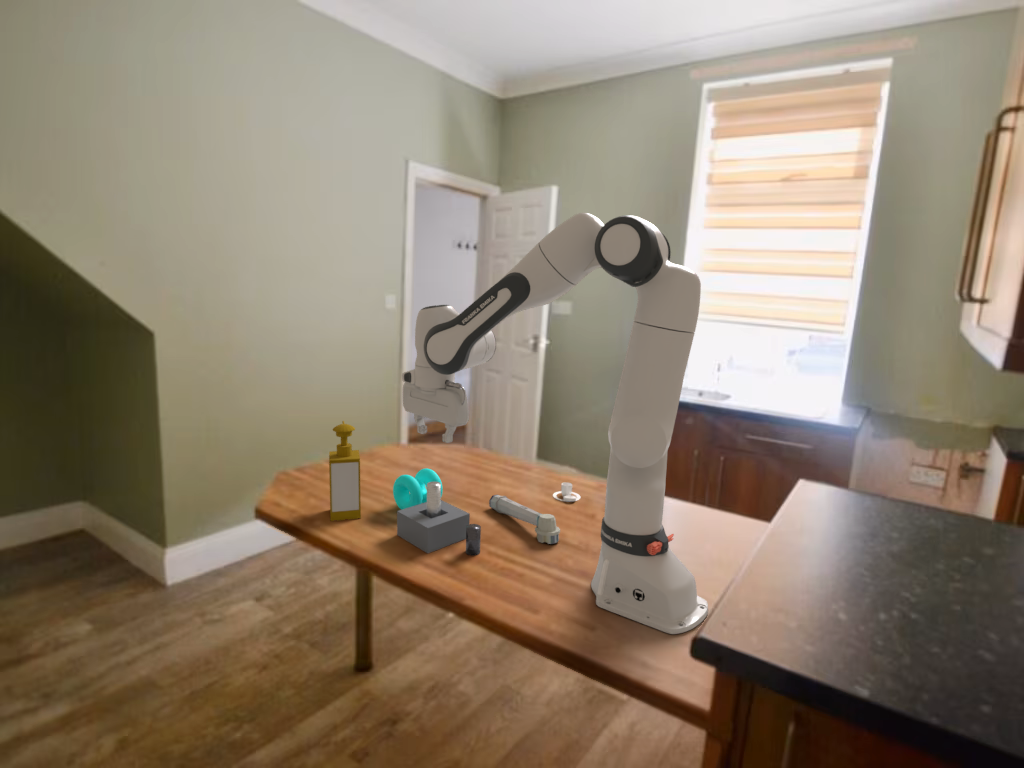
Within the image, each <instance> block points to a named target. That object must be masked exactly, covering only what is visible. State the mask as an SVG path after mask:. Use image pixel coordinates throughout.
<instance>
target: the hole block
mask: <svg viewBox="0 0 1024 768" xmlns="http://www.w3.org/2000/svg"><path fill="white" fill-rule="evenodd" d="M470 516H471V515H470V513H469V512H467V511H465V510H463V509H461V508H459V507H457V506H454V505H452V504H451V503H448V502H447V501H444V500H443V499H441V512H440V516H438V517H435V518H432V519H431V518H429V517H427V502H425V503H422V504H419V505H415V506H412V507H409V508H405V509H402V510H401V509H399V510H397V511H396V523H397V524H396V535H397V536H398V537H399V538H402V539H403V540H405V541H406V542H408V543H410V544H412V545H413V546H415V547H416V548H418V549H419V550H421V551H423V552H425V553H426V554H430V553H432V552H435V551H437V550H440V549H443V548H445V547H449V546H451V545H454V544H456V543H459V542H461V541H463V540H466V526H467V525H469V524H470V520H471V518H470Z"/></svg>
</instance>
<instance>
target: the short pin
mask: <svg viewBox="0 0 1024 768" xmlns="http://www.w3.org/2000/svg"><path fill="white" fill-rule="evenodd" d="M481 527H482V526H481V525H480V524H477V523H469V525H467V526H466V539H465V554H466V555H468V556H473V557H474V556H478V555H480V553H481V537H482V535H481V531H482V529H481Z"/></svg>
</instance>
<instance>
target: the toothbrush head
mask: <svg viewBox="0 0 1024 768" xmlns="http://www.w3.org/2000/svg"><path fill="white" fill-rule="evenodd" d="M488 503H489V507H490V508H491V509H492V510H495V511H496V512H497V513H499V514H504V515H506V516H509V517H511V518H515V519H517V520H520V521H522V522H525V523H528V524H530V525H533V526H535V527H534V532H535V533H536V539H537V542H538V543H541V544H544V543H547V545H549V544H550V545H553V544H557V543H558V542H559V541H560V535H559V534H560V533H561V528H560V527H559V526H557V521H556V520H557V519H556V517H555V515H554V514H550V513H540V512H538V511H536V510H534V509H532V508H531V507H528V506H525V505H523V504H520V503H519V502H516V501H515V500H512V499H510V498H508V497H507V496H506V495H499V494H494V495H492V496H491V497H490V499H489V501H488Z"/></svg>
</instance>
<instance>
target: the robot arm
mask: <svg viewBox="0 0 1024 768" xmlns="http://www.w3.org/2000/svg"><path fill="white" fill-rule="evenodd" d="M671 253H672V252H671V245H670V243H669V240H668V238H667V237H666V236H665V235H664V234H663V233H662V232H661V231H660V229H659V228H658V227H657V226H655V224H653V223H652V222H649V221H648V220H646V219H644V218H641V217H640V216H636V215H630V214H629V215H628V214H626V215H620V216H616V217H614V218H612V219H610V220H609V221H607V222H606V223H605V224H604V223H603V222H602V221H601V219H600V218H598V217H597V216H595V215H593V214H591V213H588V212H578V213H576V214H574V215H572V216H570V217H568V219H566V220H564V221H563V222H561V223H560V224H559V225H558V226H556V227H555V228H553V230H551V231H550V232H549V233H547V234H546V235H545V236H544V237H543V238H542V239H541V240H540V241H539V242H538V243H537V244H536V245H534V246H533V248H532V249H531V250H530V251H528V253H527V254H525V255H524V257H522V258H521V260H520V261H518V262H517V263H516V265H514V266H513V267H512V269H510V270H509V271H508V272H507V273H506V274H505V275H504V276H503V277H501V279H500V280H499V281H497V282H496V283H494V284H493V286H492V287H489V289H487V291H485V292H484V293H483V294H481V295H480V296H479V297H478V298H476V300H474V301H473V302H472V303H471V304H469V306H468V307H466V308H465V309H464V310H463V311H461V313H460V312H458V311H457V310H456V309H455V308H454V307H453V306H452V305H450V304H438V305H431V306H430V305H429V306H428V305H427V306H425V307H422V308H421V309H420V310H419V311H418V313H417V315H416V321H415V329H414V331H415V332H414V346H415V349H416V350H415V351H416V358H415V362H414V368H413V369H411V370H407V371H404V372H403V373H402V375H401V380H402V381H403V384H402V406H403V408H404V411H405V412H408V413H411V414H413V419H414V421H415V424H416V427H417V433H419V434H421V435H425V434H427V433H428V425H426V423H425V419H424V418H426V419H429V420H433V421H436V422H439V423H443V424H444V428H445V429H446V430H445V432H444V433H443V434H442V435H441V436H442V437H441V438H442V439H441V440H442V442H443V443H446V444H449V443H450V444H451V443H452V442H453V435H454V433H455V431H456V430H457V428H458V427H462V426H466V425H467V424H468V422H469V420H470V418H469V416H470V414H469V413H470V411H469V402H468V396H467V392H466V389H465V388H464V386H463V385H462V383H459V382H455V379H456V377H455V375H456V373H458V372H460V371H464V370H465V369H466V370H467V369H470V368H474V367H478V366H481V365H483V364H485V363H487V362H489V361H490V360H492V358H493V357H494V355H495V352H496V349H497V340H496V335H495V334H494V332H493V330H494V329H495V328H496V327H498V326H499V325H500V324H501V323H502V322H503V321H505V320H506V319H507V318H510V317H511V316H514V315H516V314H517V313H520V312H524V311H527V310H530V309H534V308H537V307H543V306H547V305H549V304H551V303H553V302H555V301H556V300H558V299H560V298H561V297H563V296H564V295H566V294H567V293H568V292H570V291H571V290H572V289H574V288H575V287H576V286H577V285H578V284H579V283H580V282H581V281H583V280H584V279H585V278H586V277H587V276H588V275H590V273H592V272H594V271H596V270H597V269H603V270H604V271H605V272H606V273H607V274H609V275H610V276H612V278H615V279H618V280H619V281H621V282H623V283H624V284H627V285H629V286H630V287H632V288H633V287H634V288H635V289H636V293H637V303H636V309H635V313H634V317H633V322H632V325H631V330H630V335H629V340H628V344H627V349H626V353H625V358H624V362H623V365H622V371H621V374H620V379H619V383H618V388H617V392H616V396H615V399H614V404H613V409H612V413H611V416H610V423H609V425H608V432H607V437H608V443H609V445H610V451H609V453H610V454H609V462H608V468H607V469H608V471H607V476H606V477H607V478H606V488H605V489H606V491H605V504H604V515H603V517H602V520H601V528H600V540H601V546H600V552H599V557H598V562H597V566H596V569H595V573H594V576H593V577H592V579H591V583H590V586H591V590H592V592H593V594H594V595H595V604H596V605H597V607H598V608H601V609H603V610H606V611H609V612H611V613H614V614H617V615H620V616H621V617H624V618H627V619H629V620H632V621H635V622H637V623H640V624H643V625H645V626H648V627H650V628H652V629H656V630H658V631H660V632H662V633H663V632H664V633H666V634H669V635H678V634H682V633H686V632H689V631H691V630H693V629H694V628H696V627H698V626H699V625H700V624H701V623H702V622H703V621H704V620H705V619H706V617H707V616H708V612H709V605H708V601H707V600H706V599H705V598H703V597H701V596H699V595H698V591H697V582H696V579H695V576H694V574H693V573H692V572H691V570H689V569H688V567H687V566H686V565H685V564H684V563H683V562H682V561H681V559H679V557H678V556H677V555H676V554H675V553H674V552H673V550H672V549H671V548H670V547H669V546H670V544H669V543H670V542H671V541H673V540H674V538H673V537H674V536H675V534H674V533H671V534H669V535H668V536H667V534H666V531H665V528H664V525H663V515H664V507H665V506H664V504H665V494H666V493H665V492H666V480H667V479H666V478H667V466H668V465H667V464H668V450H669V447H670V445H671V441H672V437H673V433H674V428H675V423H676V419H677V414H678V409H679V404H680V400H681V393H682V389H683V383H684V379H685V374H686V370H687V366H688V362H689V359H690V353H691V349H692V345H693V342H694V337H695V334H696V329H697V325H698V324H697V323H698V318H699V312H700V305H701V294H702V293H701V292H702V291H701V290H702V289H701V286H702V284H701V280H700V277H699V276H698V274H697V273H696V272H694V271H693V270H692V269H690V268H689V267H687V266H685V265H681V264H676V263H674V262H671V261H670V260H671Z"/></svg>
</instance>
